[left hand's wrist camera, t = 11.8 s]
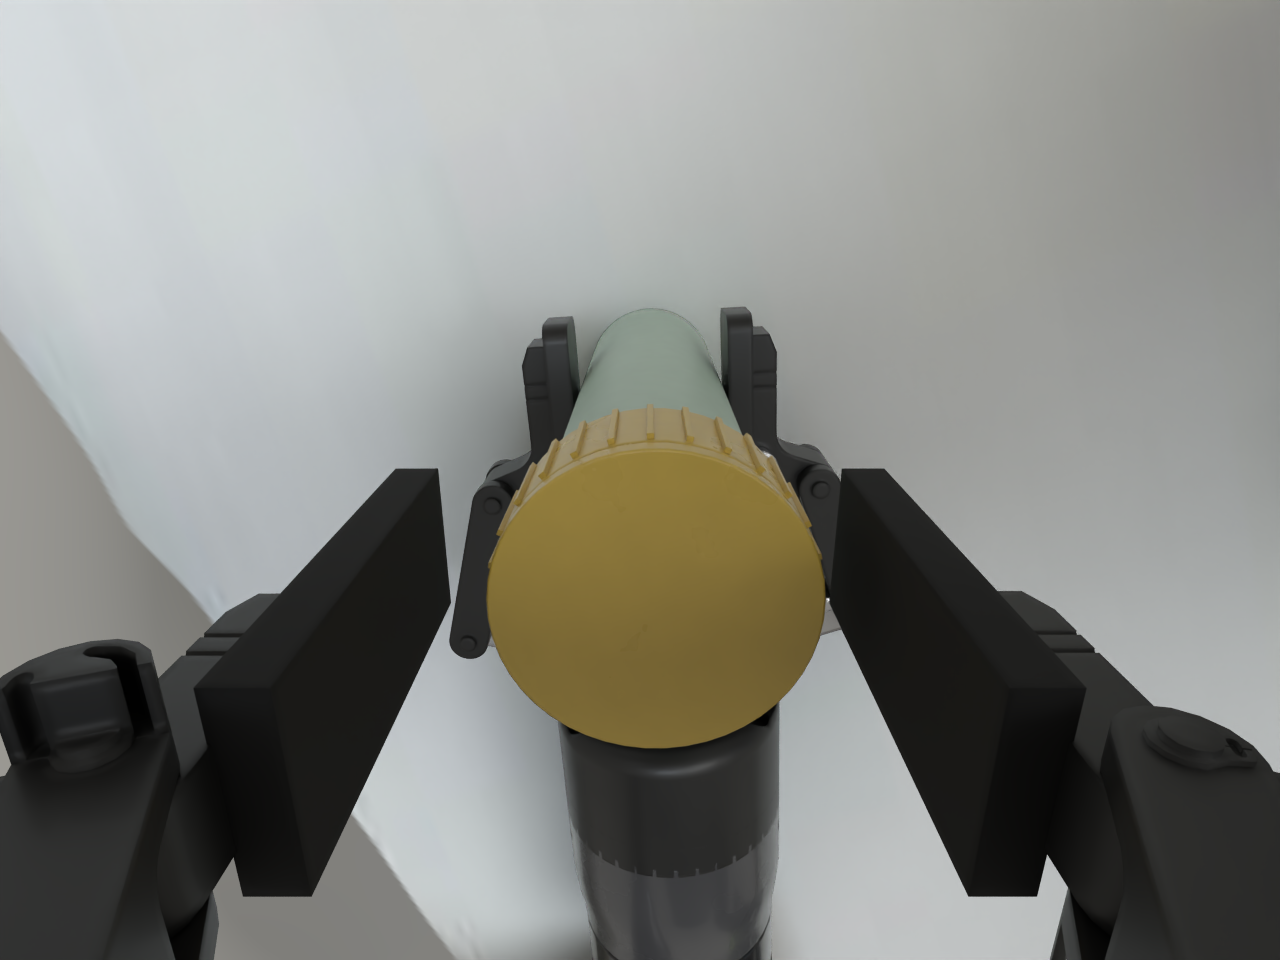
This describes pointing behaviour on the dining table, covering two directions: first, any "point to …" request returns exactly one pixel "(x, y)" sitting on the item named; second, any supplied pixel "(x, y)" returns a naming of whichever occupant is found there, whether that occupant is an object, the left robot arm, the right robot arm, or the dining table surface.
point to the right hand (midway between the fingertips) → (645, 318)
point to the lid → (655, 580)
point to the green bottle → (651, 370)
